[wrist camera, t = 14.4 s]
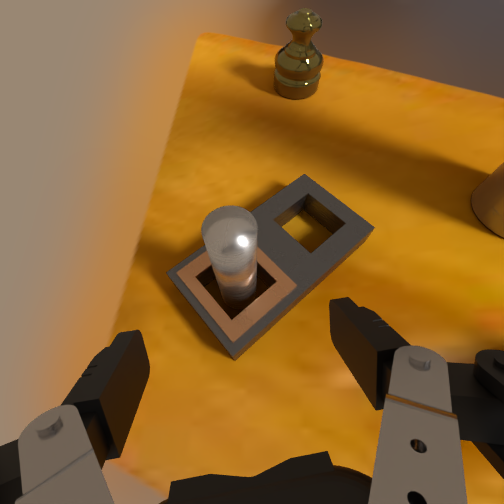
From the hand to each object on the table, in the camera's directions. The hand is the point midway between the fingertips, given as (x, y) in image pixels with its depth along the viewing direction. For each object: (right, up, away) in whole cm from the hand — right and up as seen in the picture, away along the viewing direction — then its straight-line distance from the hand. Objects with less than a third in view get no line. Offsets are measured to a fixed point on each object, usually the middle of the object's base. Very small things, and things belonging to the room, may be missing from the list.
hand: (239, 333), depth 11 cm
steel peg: (-1, -1, +16) cm, 17 cm away
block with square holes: (+3, +2, +18) cm, 18 cm away
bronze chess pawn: (+8, +31, +33) cm, 46 cm away
